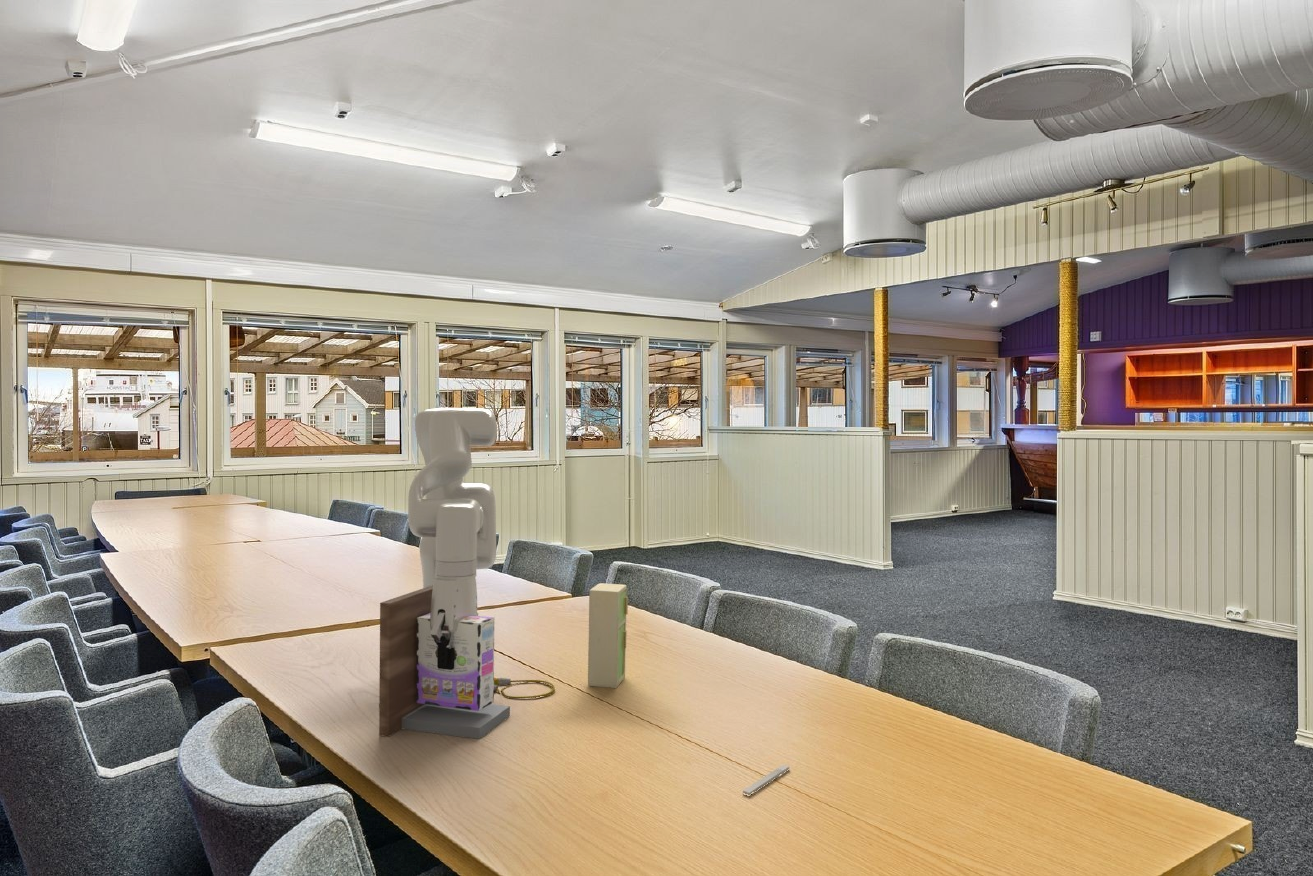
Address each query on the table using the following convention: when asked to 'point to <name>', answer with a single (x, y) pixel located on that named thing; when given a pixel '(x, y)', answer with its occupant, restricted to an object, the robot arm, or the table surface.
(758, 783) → the ruler
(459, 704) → the candy box
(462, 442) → the robot arm
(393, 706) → the wall board
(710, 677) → the table surface
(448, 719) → the cleat ledge
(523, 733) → the table surface
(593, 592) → the toy refrigerator
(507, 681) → the extension cord
